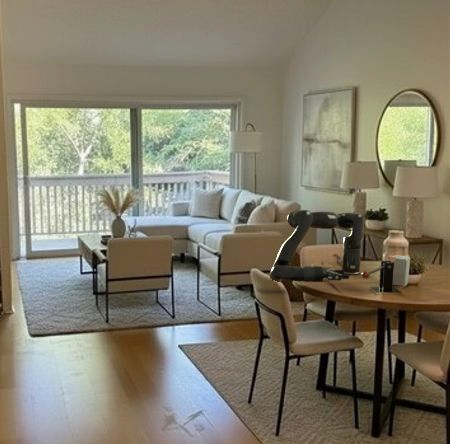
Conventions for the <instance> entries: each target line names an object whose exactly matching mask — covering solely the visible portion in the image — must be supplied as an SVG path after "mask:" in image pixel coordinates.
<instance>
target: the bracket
mask: <svg viewBox="0 0 450 444" xmlns="http://www.w3.org/2000/svg"><path fill="white" fill-rule="evenodd" d="M387 262H389V263H387ZM394 263H395V262H392V261H391V260H380V265H379V266H380V267H382V266H383V264H384V269H382V270H379V284H378V285H379V286H369V288H370V289H371V290H372V291H374V292H375V293H391V294H392V293H401V294H402V293H403V292H402V291H400V290H399V289H397V287H394V285H393V273H394ZM380 267H379V268H380Z"/></svg>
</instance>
